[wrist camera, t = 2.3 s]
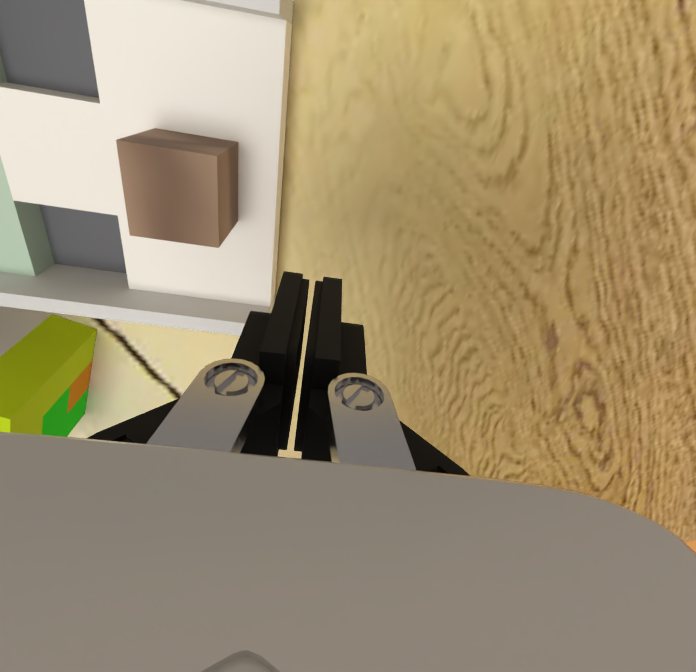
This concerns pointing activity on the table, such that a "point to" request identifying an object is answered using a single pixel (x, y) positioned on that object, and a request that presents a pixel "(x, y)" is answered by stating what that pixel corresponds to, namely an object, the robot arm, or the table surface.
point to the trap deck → (103, 163)
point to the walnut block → (179, 186)
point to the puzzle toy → (43, 371)
